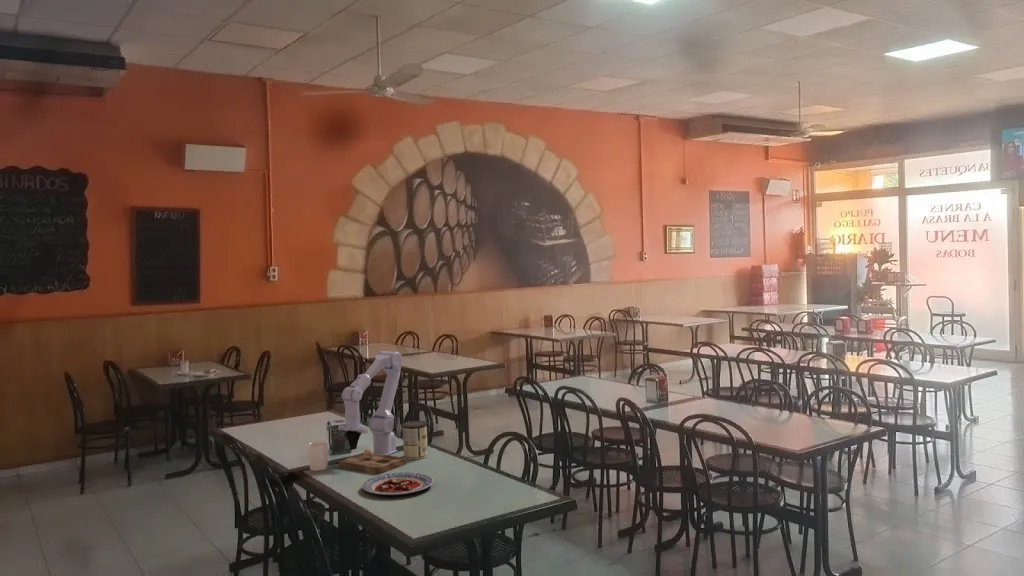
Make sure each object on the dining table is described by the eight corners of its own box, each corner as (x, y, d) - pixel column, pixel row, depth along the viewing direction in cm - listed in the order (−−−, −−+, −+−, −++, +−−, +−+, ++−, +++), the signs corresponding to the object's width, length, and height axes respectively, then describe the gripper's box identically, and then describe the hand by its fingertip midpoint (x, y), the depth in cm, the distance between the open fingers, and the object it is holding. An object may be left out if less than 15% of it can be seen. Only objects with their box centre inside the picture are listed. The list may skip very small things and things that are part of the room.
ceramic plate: (420, 501, 262) (420, 492, 262) (350, 498, 267) (350, 490, 267) (442, 479, 287) (442, 471, 287) (378, 477, 292) (377, 469, 292)
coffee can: (406, 453, 326) (405, 420, 325) (430, 453, 325) (429, 420, 324) (400, 459, 315) (399, 426, 315) (425, 459, 314) (423, 426, 314)
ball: (368, 457, 311) (367, 447, 311) (375, 458, 309) (375, 448, 309) (361, 459, 308) (361, 449, 308) (368, 460, 306) (368, 450, 306)
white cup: (325, 471, 302) (324, 446, 301) (306, 471, 302) (305, 446, 301) (330, 465, 309) (330, 441, 309) (311, 466, 310) (310, 441, 309)
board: (365, 457, 320) (365, 451, 320) (406, 464, 309) (406, 457, 308) (338, 467, 307) (338, 461, 307) (379, 474, 295) (379, 467, 295)
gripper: (332, 416, 313) (333, 449, 313) (358, 419, 305) (359, 453, 305) (344, 413, 319) (346, 445, 319) (370, 416, 311) (371, 449, 311)
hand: (353, 449), depth 313 cm, fingers closed
